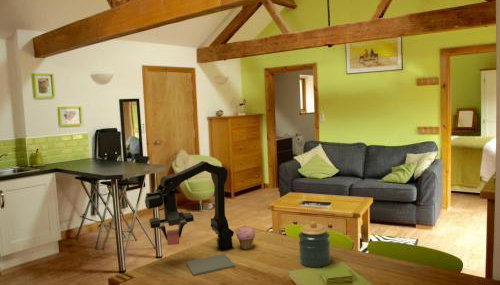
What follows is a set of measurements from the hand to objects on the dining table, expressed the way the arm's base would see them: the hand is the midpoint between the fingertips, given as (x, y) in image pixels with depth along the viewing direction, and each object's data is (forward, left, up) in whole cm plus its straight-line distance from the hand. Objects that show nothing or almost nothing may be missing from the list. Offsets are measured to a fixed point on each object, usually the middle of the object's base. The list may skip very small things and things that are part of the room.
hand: (173, 238), depth 182 cm
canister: (-54, +30, -11) cm, 63 cm away
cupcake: (-34, 0, -11) cm, 36 cm away
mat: (-13, +11, -11) cm, 20 cm away
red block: (0, 0, -1) cm, 1 cm away
